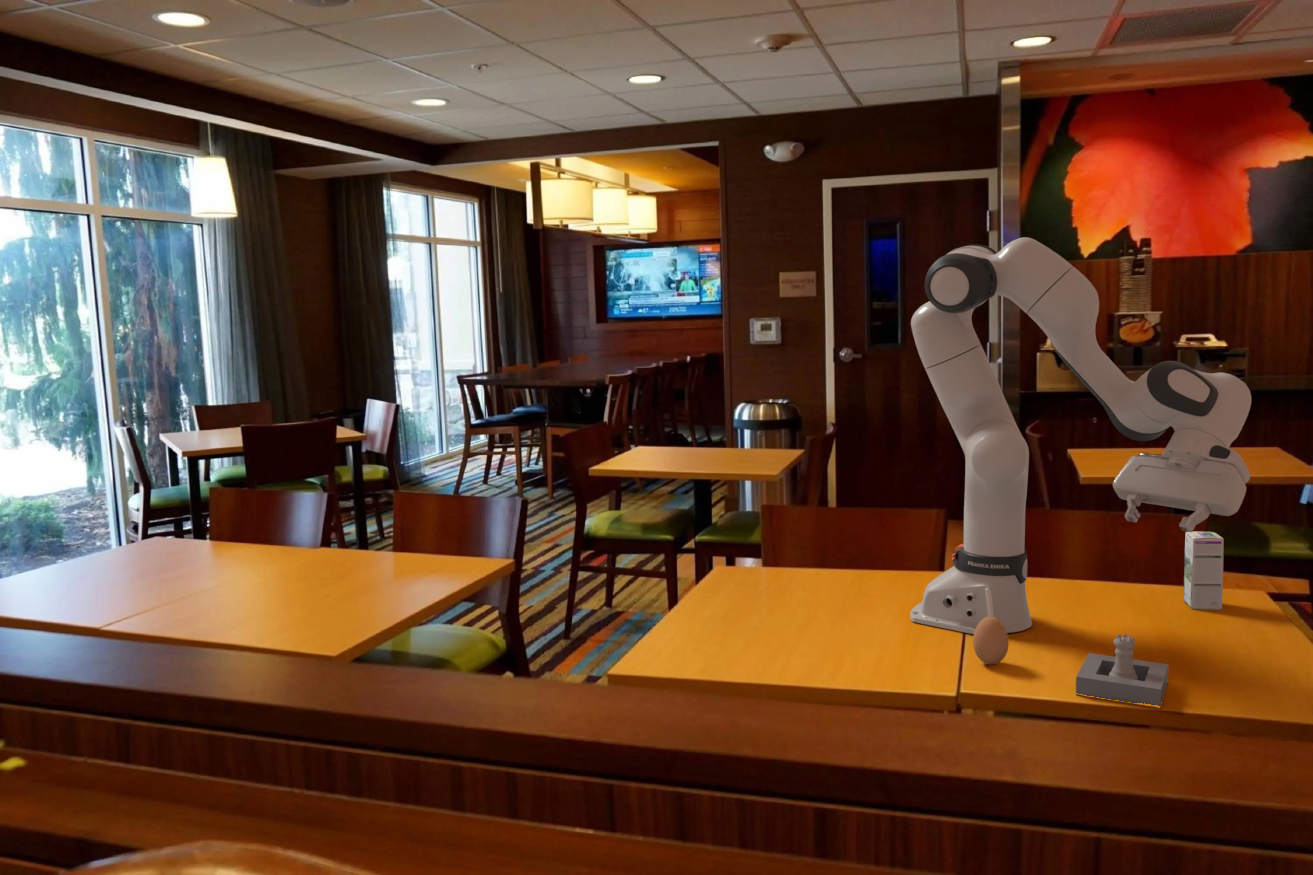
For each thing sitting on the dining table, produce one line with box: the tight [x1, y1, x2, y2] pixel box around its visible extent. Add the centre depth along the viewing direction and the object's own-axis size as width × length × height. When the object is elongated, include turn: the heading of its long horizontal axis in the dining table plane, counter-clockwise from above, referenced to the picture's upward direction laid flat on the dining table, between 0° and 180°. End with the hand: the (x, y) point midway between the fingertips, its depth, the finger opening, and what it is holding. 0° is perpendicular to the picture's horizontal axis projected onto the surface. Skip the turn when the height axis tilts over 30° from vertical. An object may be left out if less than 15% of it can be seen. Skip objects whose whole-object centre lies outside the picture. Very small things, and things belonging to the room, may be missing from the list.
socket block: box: [1075, 652, 1169, 707], centre depth 165 cm, size 12×12×3 cm
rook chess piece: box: [1109, 634, 1138, 680], centre depth 164 cm, size 4×4×8 cm
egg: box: [972, 617, 1009, 666], centre depth 177 cm, size 6×6×8 cm
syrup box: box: [1183, 530, 1225, 611], centre depth 205 cm, size 6×6×14 cm
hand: (1156, 524), depth 169 cm, fingers open, 8 cm apart
